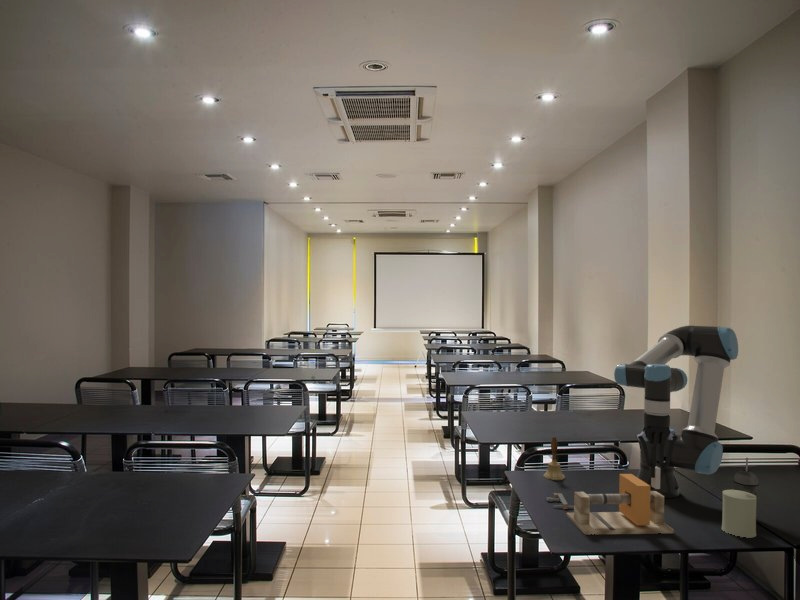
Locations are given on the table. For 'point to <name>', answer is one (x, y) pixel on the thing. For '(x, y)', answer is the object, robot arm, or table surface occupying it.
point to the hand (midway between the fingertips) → (655, 487)
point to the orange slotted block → (635, 499)
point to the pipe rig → (616, 515)
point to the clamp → (559, 498)
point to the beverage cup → (746, 481)
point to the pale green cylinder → (739, 513)
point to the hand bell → (554, 464)
